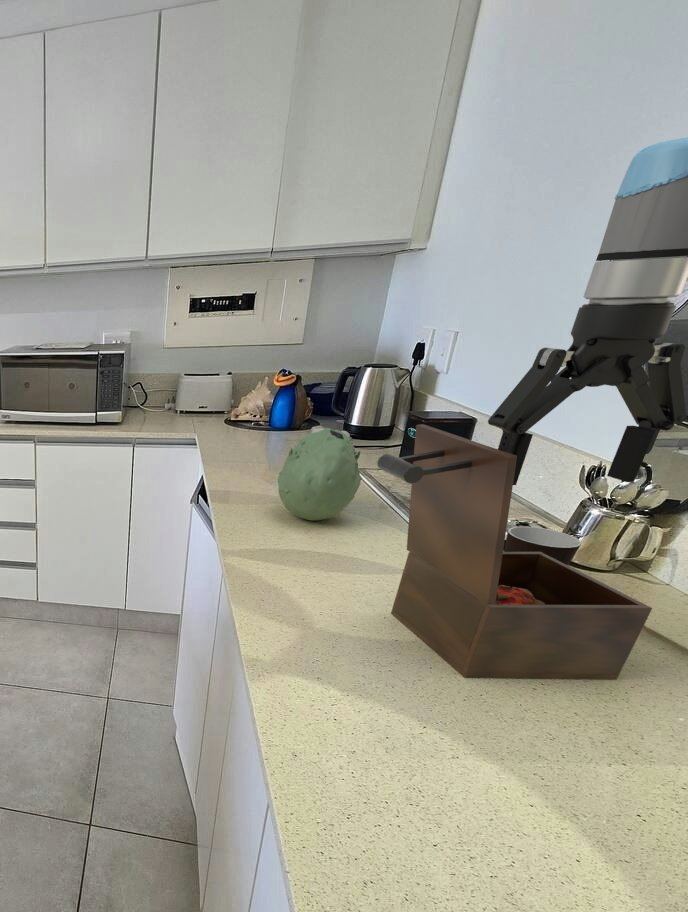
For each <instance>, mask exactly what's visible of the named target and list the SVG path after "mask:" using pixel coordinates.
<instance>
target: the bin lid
mask: <svg viewBox="0 0 688 912" xmlns="http://www.w3.org/2000/svg"><path fill="white" fill-rule="evenodd" d="M414 435H415V436H414V449H413V454H412V455H406V456H400V457H398V456H395V455H394V454H391V453H386V454H383V455H381V456H380V457H379V458H378V459H377V462H376V464H377V467H378V469H380V470H381V471H383V472H385V473H387V474H389V475H392V476H394V477H396V478H397V479H399V480H400V481H404V482H405V483H407V484H411V486H410V487H411V488H410V501H409V511H408V512H409V513H408V527H407V539H406V551H408V553H409V552H411V553H412V554H414V555H415V556H417V557H418V558H420V559H421V560H423V561H424V562H425V563H427V564H428V565H430V566H431V567H433V568H434V569H436V570H437V571H439V572H440V573H442V574H443V575H445V576H446V577H448V578H449V579H451V580H452V581H454V582H455V583H457V584H458V585H460V586H461V587H463V588H464V589H466V590H467V591H469V592H470V593H472V594H473V595H475V596H476V597H477V598H479V599H480V600H482V601H483V602H485V603H486V604H488V605H489V604H495V602H496V595H497V589H498V582H499V575H500V568H501V562H502V555H503V552H504V550H503V548H504V541H505V540H506V536H507V527H508V520H509V515H510V507H511V501H512V494H513V488H514V487H513V486H514V485H513V481H514V474H515V467H516V460H517V456H516V455H513V454H510V453H507V452H504V451H501V450H498V448H495V447H492V446H488V445H486V444H483V443H480V442H477V441H474V440H471V439H469V438H465V437H463V436H459V435H456V434H454V433H450V432H448V431H445V430H442V429H439V428H436V427H433V426H430V425H426V424H423V423H421V424H416V425H415V434H414Z"/></svg>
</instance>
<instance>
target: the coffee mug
mask: <svg viewBox="0 0 688 912" xmlns="http://www.w3.org/2000/svg"><path fill="white" fill-rule="evenodd" d="M581 546H582V541H581V540H580V539H579V538H577V537H575V536H573V535H570V534H568V533H565V532H562V531H558V530H554V529H549V528H543V527H536V526H513V527H510V528H508V530H507V532H506V537H505V541H504V548H503V552H542V553H544V554H546V555H548V556H550V557H552V558H554V559H556V560H558V561H560V562H562V563H564V564H566V565H568V566H570V564H571V562H572V560H573V559H574V557H575V555H576V554H577V552H578V551H579V549H580V547H581Z"/></svg>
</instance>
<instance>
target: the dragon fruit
mask: <svg viewBox="0 0 688 912" xmlns="http://www.w3.org/2000/svg"><path fill="white" fill-rule="evenodd" d="M492 605H546V604H545V603H544V602H542V601H540V600H537V599H536V598H535V597H533V595H532V593H531V592H530V591H528V590H527V589H522V588H517V587H510V586H504V585H500V586H498V589H497V595H496V602H495V604H492Z"/></svg>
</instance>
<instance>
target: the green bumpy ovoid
mask: <svg viewBox="0 0 688 912" xmlns="http://www.w3.org/2000/svg"><path fill="white" fill-rule="evenodd" d="M360 456H361V450H359V451H356V448H355V446H354V443H353V437H351V434H350V433H349V432H348V431H346V430H339V429H333V428H330V427H323V426H322V425H314V426H312V427H311V428H310V432H309V433H308V434H305V435H304V436H303V437H302V438H301V439H299V440H298V443H297V444H296V445H295V446H294V448H293V447H291V448H290V449H289V451H288V455H287V457H286V458H285V461H284V464H283V466H282V469H281V470H280V471H279V473H278V474H279V475H278V477H277V484H278V496H279V498H280V500H281V503H282V504H283V506H284V507H285V509H286V510H287V511H288V512H291V513H292V514H293V515H294V516H296V517H298V518H300V519H303V520H307V521H321V520H327V519H329V518H332V517H335V516H336V515H338V514H339V513H341V512H342V511H343V510H345V509H346V508H347V507H348V506H349V505H350V503H351V502H352V501H353V500H354V499H355V496H356V493H357V492H358V490H359V488H360V485H361V481H362V478H363V477H362V475H361V473H360V472H361V469H360V468H359V462H358V460H359V459H360Z"/></svg>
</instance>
